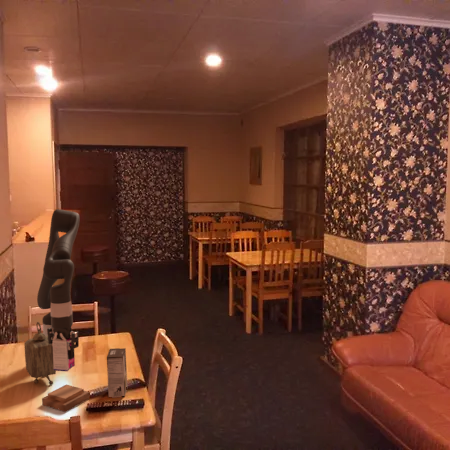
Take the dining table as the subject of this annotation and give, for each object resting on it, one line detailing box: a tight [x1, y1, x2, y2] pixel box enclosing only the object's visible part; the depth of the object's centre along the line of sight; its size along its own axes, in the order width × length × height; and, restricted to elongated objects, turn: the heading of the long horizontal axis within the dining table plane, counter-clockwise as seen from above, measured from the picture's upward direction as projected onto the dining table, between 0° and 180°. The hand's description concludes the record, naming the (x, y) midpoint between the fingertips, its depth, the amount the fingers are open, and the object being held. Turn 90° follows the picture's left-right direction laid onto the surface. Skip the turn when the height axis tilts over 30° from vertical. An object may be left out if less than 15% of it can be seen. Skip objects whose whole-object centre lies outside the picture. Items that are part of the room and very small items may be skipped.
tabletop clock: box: [24, 321, 57, 386], centre depth 205 cm, size 14×9×25 cm, turn 32°
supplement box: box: [53, 339, 76, 372], centre depth 186 cm, size 6×6×12 cm
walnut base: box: [41, 384, 91, 413], centre depth 188 cm, size 12×12×4 cm
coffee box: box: [106, 347, 128, 398], centre depth 194 cm, size 9×6×16 cm
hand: (64, 357), depth 186 cm, fingers closed on supplement box, 6 cm apart
